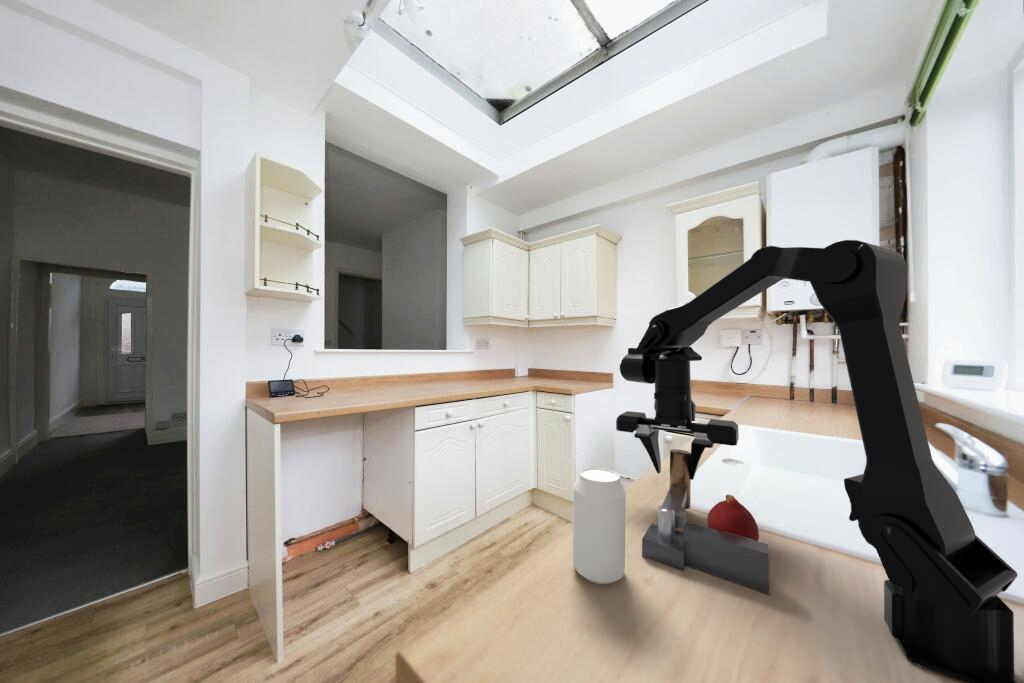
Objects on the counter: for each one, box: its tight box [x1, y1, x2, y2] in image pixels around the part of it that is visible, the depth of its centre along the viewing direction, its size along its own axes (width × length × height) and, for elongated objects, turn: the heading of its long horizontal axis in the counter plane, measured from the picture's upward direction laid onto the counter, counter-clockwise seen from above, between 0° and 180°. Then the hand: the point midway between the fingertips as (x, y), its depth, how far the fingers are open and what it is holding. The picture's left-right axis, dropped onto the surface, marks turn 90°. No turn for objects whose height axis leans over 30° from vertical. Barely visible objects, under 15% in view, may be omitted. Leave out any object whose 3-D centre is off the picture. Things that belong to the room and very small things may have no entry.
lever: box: [661, 449, 692, 530], centre depth 54 cm, size 14×3×9 cm, turn 148°
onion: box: [706, 494, 760, 542], centre depth 46 cm, size 6×6×8 cm
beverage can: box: [572, 467, 627, 585], centre depth 42 cm, size 6×6×12 cm
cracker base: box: [641, 505, 770, 596], centre depth 43 cm, size 14×5×6 cm, turn 54°
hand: (675, 475), depth 60 cm, fingers open, 5 cm apart
